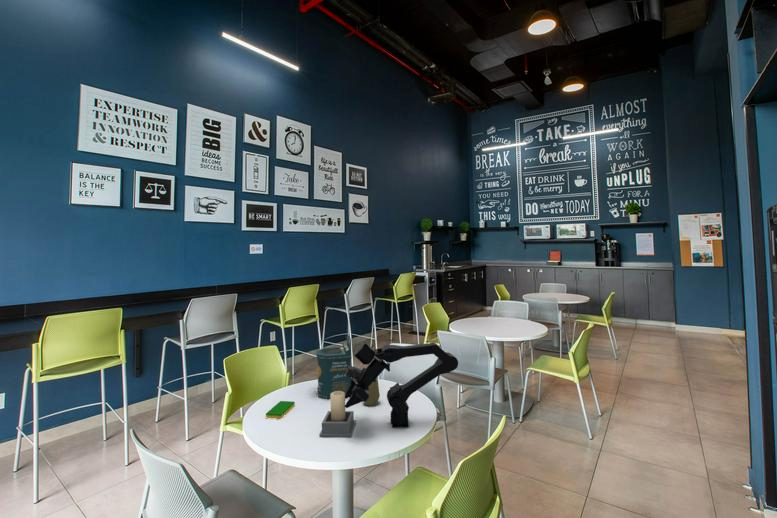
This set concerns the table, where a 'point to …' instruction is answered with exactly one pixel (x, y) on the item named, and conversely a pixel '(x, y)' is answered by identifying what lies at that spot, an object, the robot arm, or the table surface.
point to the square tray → (338, 426)
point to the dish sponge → (280, 409)
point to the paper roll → (338, 406)
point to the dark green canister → (333, 369)
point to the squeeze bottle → (373, 394)
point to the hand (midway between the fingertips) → (345, 402)
